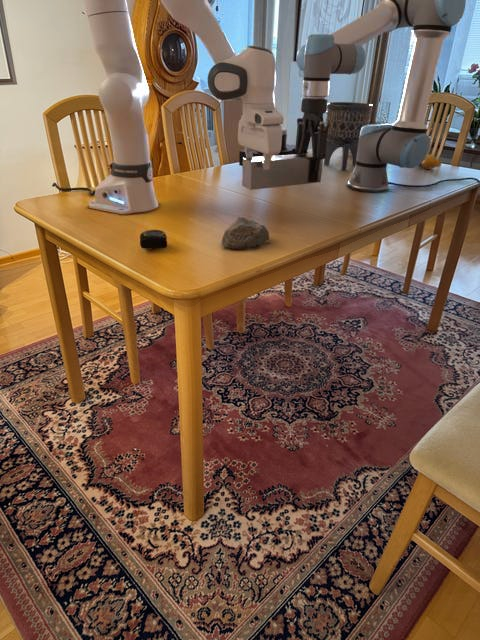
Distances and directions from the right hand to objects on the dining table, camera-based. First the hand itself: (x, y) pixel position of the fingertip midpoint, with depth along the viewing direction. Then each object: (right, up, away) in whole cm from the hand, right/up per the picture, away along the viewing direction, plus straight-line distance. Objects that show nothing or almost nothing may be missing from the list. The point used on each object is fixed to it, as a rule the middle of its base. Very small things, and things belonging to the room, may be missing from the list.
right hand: (307, 179), depth 142 cm
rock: (-19, -24, -21) cm, 37 cm away
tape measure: (-43, -26, -24) cm, 56 cm away
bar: (-8, -2, -3) cm, 9 cm away
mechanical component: (-4, +19, +54) cm, 58 cm away
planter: (+26, +27, +68) cm, 78 cm away
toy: (+66, +28, +71) cm, 101 cm away
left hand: (-16, +1, -10) cm, 19 cm away
